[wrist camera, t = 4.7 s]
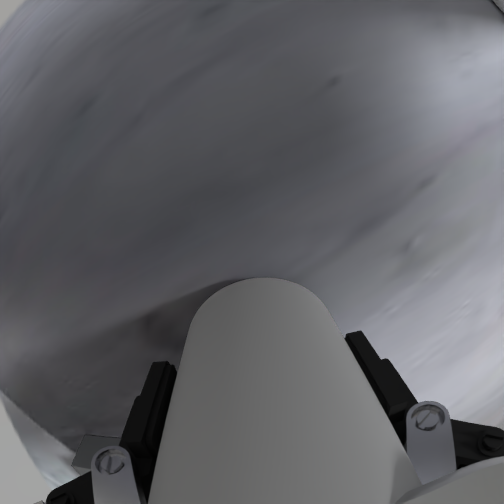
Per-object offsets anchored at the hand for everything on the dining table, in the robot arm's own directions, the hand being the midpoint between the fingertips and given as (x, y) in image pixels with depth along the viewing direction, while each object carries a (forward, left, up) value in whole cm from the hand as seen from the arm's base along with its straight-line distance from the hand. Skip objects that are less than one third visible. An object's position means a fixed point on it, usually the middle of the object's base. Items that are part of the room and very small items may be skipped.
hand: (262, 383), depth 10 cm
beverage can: (0, 0, -3) cm, 3 cm away
